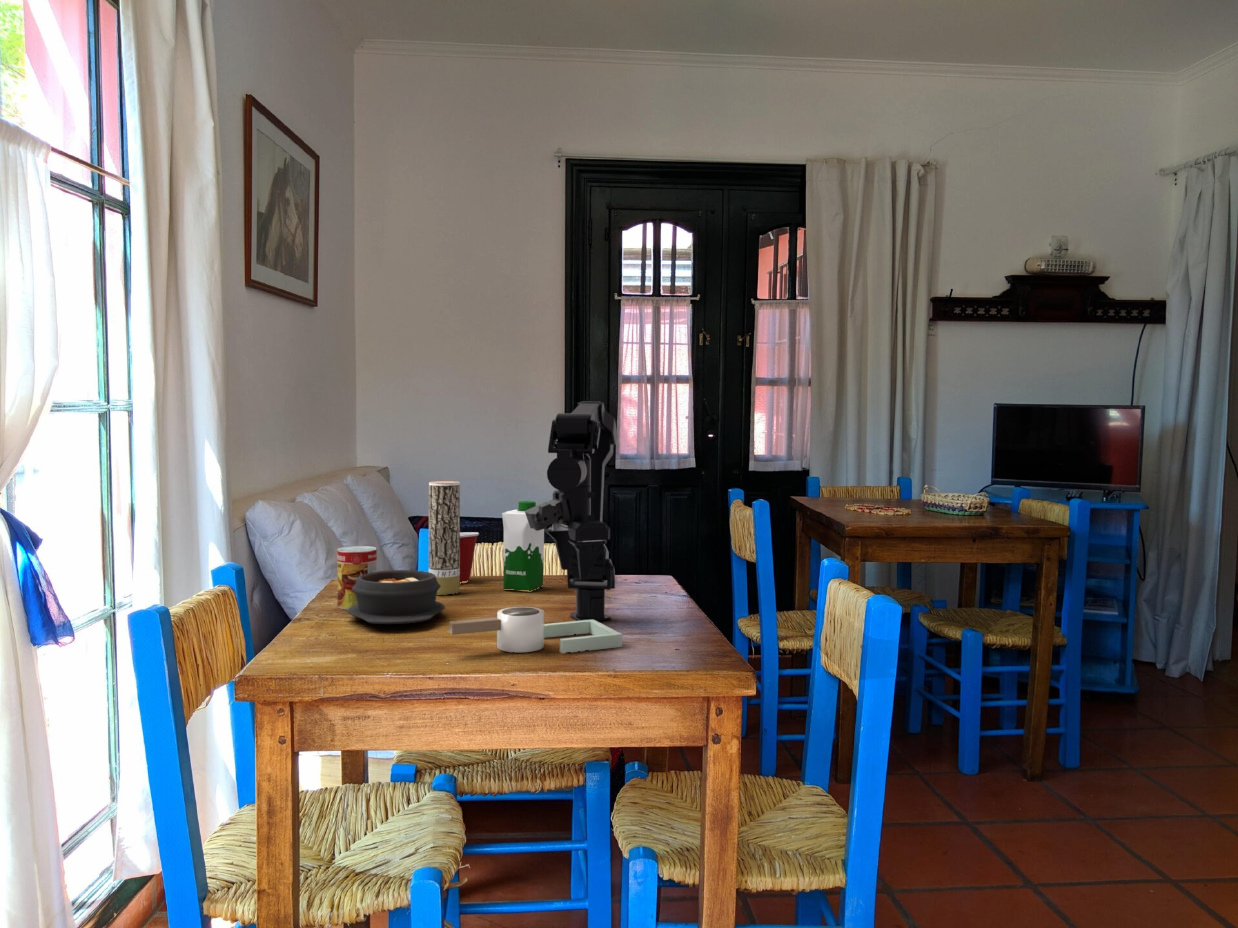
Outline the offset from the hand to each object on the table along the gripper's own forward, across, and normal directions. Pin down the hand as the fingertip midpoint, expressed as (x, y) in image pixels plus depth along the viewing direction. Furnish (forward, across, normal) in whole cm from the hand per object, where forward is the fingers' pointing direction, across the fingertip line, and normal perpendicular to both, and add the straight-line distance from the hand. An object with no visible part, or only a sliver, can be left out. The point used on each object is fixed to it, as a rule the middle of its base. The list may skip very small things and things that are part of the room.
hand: (573, 574), depth 156 cm
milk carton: (+13, -51, +7) cm, 53 cm away
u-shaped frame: (+12, -1, +1) cm, 12 cm away
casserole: (+13, -31, -25) cm, 42 cm away
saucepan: (+12, 0, -14) cm, 18 cm away
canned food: (+13, -46, -31) cm, 57 cm away
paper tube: (+13, -52, -11) cm, 55 cm away
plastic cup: (+14, -65, -6) cm, 66 cm away
